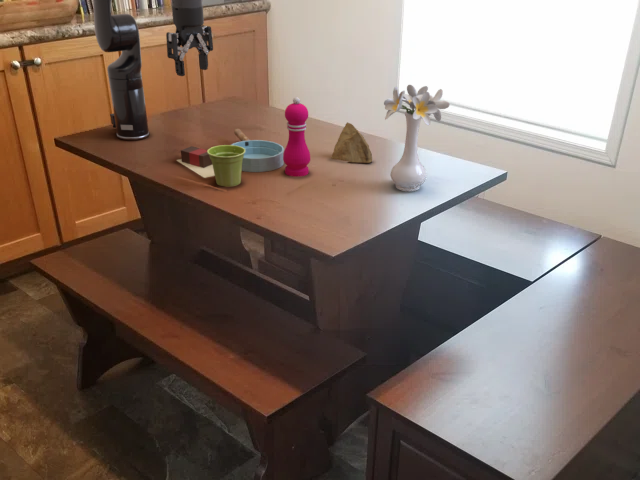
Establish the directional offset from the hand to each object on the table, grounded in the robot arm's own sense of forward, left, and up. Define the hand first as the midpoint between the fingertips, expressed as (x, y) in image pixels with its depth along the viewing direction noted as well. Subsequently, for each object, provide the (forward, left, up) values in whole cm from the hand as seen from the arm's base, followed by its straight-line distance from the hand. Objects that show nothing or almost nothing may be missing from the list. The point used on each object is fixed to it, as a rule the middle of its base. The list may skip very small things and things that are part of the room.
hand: (192, 72), depth 178 cm
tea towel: (+7, -2, -23) cm, 24 cm away
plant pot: (+21, -3, -23) cm, 31 cm away
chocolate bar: (+4, -3, -22) cm, 23 cm away
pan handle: (-1, +14, -21) cm, 25 cm away
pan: (+12, +11, -23) cm, 28 cm away
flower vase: (+47, +35, -23) cm, 63 cm away
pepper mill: (+24, +16, -23) cm, 37 cm away
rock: (+24, +35, -23) cm, 49 cm away
